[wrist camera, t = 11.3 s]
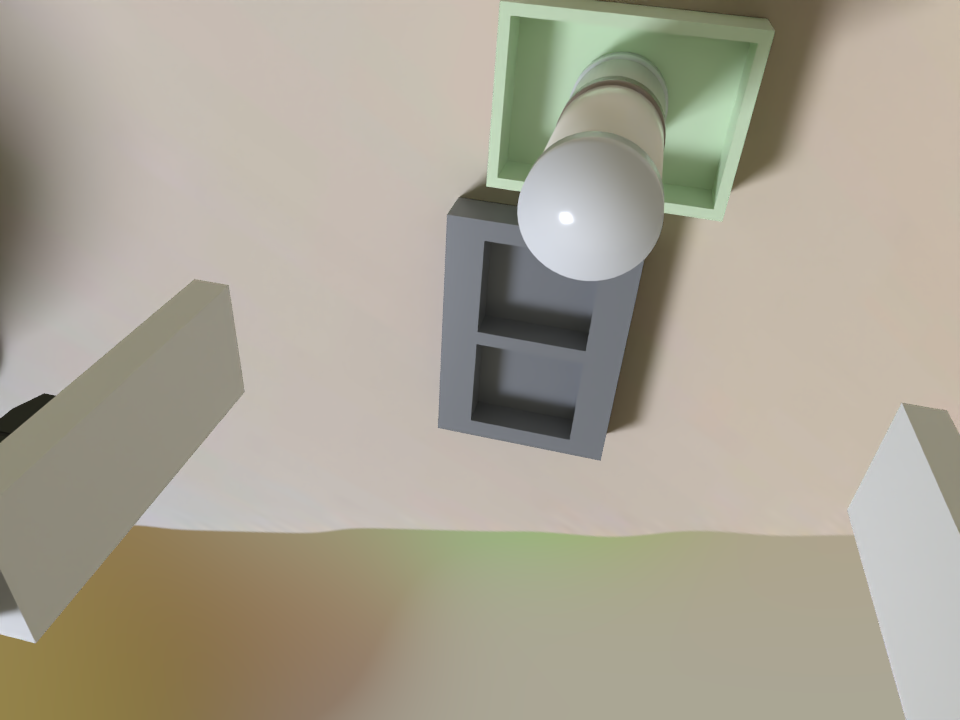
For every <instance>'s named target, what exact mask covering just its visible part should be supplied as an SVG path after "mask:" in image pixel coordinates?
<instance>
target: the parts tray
mask: <svg viewBox="0 0 960 720" xmlns="http://www.w3.org/2000/svg"><path fill="white" fill-rule="evenodd" d="M774 34H775V30H774V28H773V27H772V25H771V24H770V22H769V20H768V19H764V18H755V17H746V16H736V15H727V14H718V13H708V12H699V11H690V10H680V9H671V8H662V7H653V6H643V5H634V4H625V3H615V2H606V1H597V0H501V1H500V6H499V20H498V33H497V47H496V60H495V74H494V87H493V101H492V114H491V128H490V141H489V155H488V168H487V182H486V187H493V188H500V189H507V190H513V191H520V192H521V189H522V186H523V184H524V182H525V180H526V178H527V176H528V174H529V172H530V170H531V168H532V166H533V165H534V163H535V162H536V160H537V159H538V158H539V156H540V155H541V154H542V153H543V152H544V150H545V148H546V146H547V144H548V142H549V140H550V138H551V136H552V134H553V132H554V130H555V128H556V125H557V122H558V119H559V117H560V115H561V113H562V111H563V109H564V107H565V105H566V103H567V102H568V100H569V99H570V95H571V92H572V89H573V87H574V85H575V83H576V81H577V79H578V77H579V76H580V74H581V73H582V72H583V70H584V69H585V68H586V67H587V66H588V65H589V64H590V63H591V62H593V61H594V60H596V59H597V58H599V57H601V56H603V55H606V54H608V53H613V52H621V51H623V52H632V53H636V54H639V55H641V56H643V57H645V58H647V59H648V60H650V61H651V62H652V63H653V64H654V65H655V66H656V67H657V68H658V69H659V70H660V72H661V73H662V75H663V77H664V79H665V82H666V85H667V89H668V112H667V118H666V139H665V147H664V152H663V172H662V183H663V187H664V213H668V214H675V215H681V216H688V217H695V218H702V219H708V220H715V221H723V217H724V214H725V210H726V206H727V203H728V199H729V196H730V192H731V188H732V185H733V181H734V178H735V174H736V170H737V167H738V163H739V160H740V156H741V152H742V149H743V145H744V142H745V138H746V134H747V131H748V127H749V124H750V120H751V116H752V113H753V109H754V106H755V102H756V98H757V95H758V91H759V88H760V84H761V80H762V77H763V73H764V70H765V66H766V62H767V59H768V55H769V52H770V48H771V44H772V41H773V37H774Z"/></svg>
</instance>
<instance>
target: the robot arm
mask: <svg viewBox="0 0 960 720" xmlns="http://www.w3.org/2000/svg"><path fill="white" fill-rule="evenodd" d="M244 392H245V391H244V384H243V377H242V371H241V364H240V357H239V351H238V344H237V338H236V331H235V324H234V318H233V311H232V304H231V298H230V291H229V285H224V284H218V283H213V282H207V281H201V280H196V279H194V280H193V281H192V282H191V283H190V284H188V285H187V286H186V287H185V288H184V289H182V290H181V291H180V292H179V293H178V294H176V295H175V296H174V297H173V298H172V299H171V300H169V301H168V302H167V303H166V304H165V305H163V306H162V307H161V308H160V309H159V310H157V311H156V312H155V313H154V314H153V315H152V316H150V317H149V318H148V319H147V320H146V321H144V322H143V323H142V324H141V325H140V326H138V327H137V328H136V329H135V330H134V331H133V332H131V333H130V334H129V335H128V336H127V337H125V338H124V339H123V340H122V341H121V342H119V343H118V344H117V345H116V346H115V347H114V348H112V349H111V350H110V351H109V352H108V353H106V354H105V355H104V356H103V357H102V358H100V359H99V360H98V361H97V362H96V363H95V364H93V365H92V366H91V367H90V368H89V369H87V370H86V371H85V372H84V373H83V374H81V375H80V376H79V377H78V378H77V379H76V380H74V381H73V382H72V383H71V384H70V385H68V386H67V387H66V388H65V389H64V390H62V391H61V392H60V393H59V394H58V395H57V396H54V395H49V394H45V393H44V394H42V395H40V396H38V397H36V398H34V399H32V400H30V401H28V402H26V403H23V404H21V405H19V406H17V407H15V408H13V409H12V410H10V411H9V412H8V413H7V414H5V415H4V416H3V417H2V418H0V634H2V635H6V636H10V637H14V638H18V639H21V640H25V641H29V642H33V643H36V642H37V641H38V640H39V639H40V638H41V636H42V635H43V634H44V633H45V632H46V630H47V629H48V628H49V627H50V625H51V624H52V623H53V622H54V621H55V619H56V618H57V617H58V616H59V615H60V614H61V612H62V611H63V610H64V609H65V608H66V606H67V605H68V604H69V603H70V601H71V600H72V599H73V598H74V597H75V595H76V594H77V593H78V592H79V591H80V589H81V588H82V587H83V586H84V585H85V583H86V582H87V581H88V580H89V579H90V577H91V576H92V575H93V574H94V573H95V571H96V570H97V569H98V568H99V567H100V565H101V564H102V563H103V562H104V561H105V559H106V558H107V557H108V556H109V555H110V553H111V552H112V551H113V550H114V548H115V547H116V546H117V545H118V544H119V542H120V541H121V540H122V539H123V538H124V536H125V535H126V534H127V533H128V532H129V530H130V529H131V528H132V527H133V526H134V524H135V523H136V522H137V521H138V520H139V518H140V517H141V516H142V515H143V514H144V512H145V511H146V510H147V509H148V508H149V506H150V505H151V504H152V503H153V502H154V500H155V499H156V498H157V497H158V495H159V494H160V493H161V492H162V491H163V489H164V488H165V487H166V486H167V485H168V483H169V482H170V481H171V480H172V479H173V477H174V476H175V475H176V474H177V473H178V471H179V470H180V469H181V468H182V467H183V465H184V464H185V463H186V462H187V461H188V459H189V458H190V457H191V456H192V455H193V453H194V452H195V451H196V450H197V448H198V447H199V446H200V445H201V444H202V442H203V441H204V440H205V439H206V438H207V436H208V435H209V434H210V433H211V432H212V430H213V429H214V428H215V427H216V426H217V424H218V423H219V422H220V421H221V420H222V418H223V417H224V416H225V415H226V414H227V412H228V411H229V410H230V409H231V408H232V406H233V405H234V404H235V403H236V402H237V400H238V399H239V398H240V397H241V395H242V394H243V393H244ZM847 511H848V515H849V518H850V522H851V525H852V529H853V532H854V536H855V540H856V543H857V547H858V550H859V554H860V558H861V561H862V564H863V568H864V572H865V575H866V579H867V583H868V586H869V590H870V593H871V597H872V601H873V604H874V608H875V611H876V615H877V618H878V622H879V625H880V629H881V633H882V636H883V640H884V643H885V647H886V650H887V654H888V658H889V661H890V665H891V669H892V672H893V676H894V679H895V682H896V686H897V690H898V694H899V697H900V701H901V704H902V708H903V712H904V715H905V718H906V720H960V435H959V433H958V431H957V429H956V427H955V425H954V423H953V421H952V419H951V417H950V415H949V414H948V412H947V411H946V410H940V409H934V408H929V407H923V406H917V405H911V404H906V403H901V405H900V407H899V409H898V411H897V413H896V415H895V417H894V419H893V421H892V423H891V425H890V427H889V429H888V431H887V433H886V435H885V437H884V439H883V441H882V443H881V445H880V447H879V449H878V451H877V453H876V455H875V456H874V458H873V460H872V462H871V464H870V466H869V468H868V470H867V472H866V474H865V476H864V478H863V480H862V482H861V484H860V486H859V488H858V490H857V492H856V494H855V496H854V498H853V500H852V502H851V504H850V506H849V508H848V510H847Z"/></svg>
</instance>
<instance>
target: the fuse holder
mask: <svg viewBox="0 0 960 720" xmlns="http://www.w3.org/2000/svg"><path fill="white" fill-rule="evenodd" d="M517 210H518V206H512V205H506V204H499V203H493V202H486V201H479V200H473V199H466V198H460V197H459V198H458V200H457V201H456V202H455V204H454V205H453V207H452V208H451V210H450V211H449V213H448V214H447V231H446V254H445V277H444V301H443V324H442V347H441V371H440V394H439V418H438V428H442V429H446V430H451V431H456V432H461V433H466V434H471V435H476V436H481V437H486V438H491V439H496V440H501V441H506V442H511V443H516V444H521V445H526V446H531V447H536V448H541V449H546V450H551V451H556V452H561V453H566V454H571V455H575V456H580V457H585V458H590V459H595V460H600V461H601V456H602V451H603V447H604V442H605V438H606V433H607V429H608V424H609V419H610V415H611V410H612V406H613V401H614V396H615V392H616V387H617V383H618V378H619V374H620V369H621V364H622V360H623V355H624V351H625V346H626V342H627V337H628V332H629V328H630V323H631V319H632V314H633V309H634V305H635V300H636V296H637V291H638V287H639V282H640V277H641V273H642V268H643V264H644V260H643V261H642V262H641V263H640V264H638V265H637V266H636V267H634V268H633V269H631V270H630V271H628V272H626V273H624V274H622V275H619V276H617V277H614V278H610V279H606V280H599V281H583V280H576V279H572V278H568V277H565V276H562V275H560V274H558V273H556V272H554V271H552V270H551V269H549V268H548V267H546V266H545V265H544V264H542V263H541V262H540V261H539V260H538V259H537V258H536V257H535V256H534V255H533V254H532V252H531V251H530V249H529V248H528V247H527V245H526V243H525V241H524V239H523V237H522V234H521V231H520V228H519V223H518V215H517Z"/></svg>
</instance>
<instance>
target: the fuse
mask: <svg viewBox="0 0 960 720" xmlns="http://www.w3.org/2000/svg"><path fill="white" fill-rule="evenodd" d="M667 112H668V89H667V85H666V82H665V79H664V77H663V75H662V73H661V72H660V70H659V69H658V68H657V67H656V66H655V65H654V64H653V63H652V62H651V61H650V60H648V59H647V58H645V57H643V56H641V55H639V54H636V53H632V52H623V51H621V52H613V53H608V54H606V55H603V56H601V57H599V58H597V59H596V60H594V61H593V62H591V63H590V64H589V65H588V66H587V67H586V68H585V69H584V70H583V72H582V73H581V74H580V76H579V77H578V79H577V81H576V83H575V85H574V87H573V89H572V92H571V95H570V99H569V100H568V102H567V103H566V105H565V107H564V109H563V111H562V113H561V115H560V117H559V119H558V122H557V125H556V128H555V130H554V132H553V134H552V136H551V138H550V140H549V142H548V144H547V146H546V148H545V150H544V152H543V153H542V154H541V155H540V156H539V158H538V159H537V160H536V162H535V163H534V165H533V166H532V168H531V170H530V172H529V174H528V176H527V178H526V180H525V182H524V184H523V186H522V189H521V192H520V195H519V200H518V210H517V215H518V223H519V228H520V231H521V234H522V237H523V239H524V241H525V243H526V245H527V247H528V248H529V249H530V251H531V252H532V254H533V255H534V256H535V257H536V258H537V259H538V260H539V261H540V262H541V263H542V264H544V265H545V266H546V267H548V268H549V269H551V270H552V271H554V272H556V273H558V274H560V275H562V276H565V277H568V278H572V279H576V280H583V281H599V280H606V279H610V278H614V277H617V276H619V275H622V274H624V273H626V272H628V271H630V270H631V269H633V268H634V267H636V266H637V265H638V264H640V263H641V262H642V261H643V260H644V259H645V258H646V257H647V256H648V254H649V253H650V252H651V251H652V249H653V247H654V246H655V244H656V242H657V240H658V238H659V236H660V233H661V229H662V225H663V219H664V187H663V183H662V172H663V152H664V147H665V139H666V118H667Z"/></svg>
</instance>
